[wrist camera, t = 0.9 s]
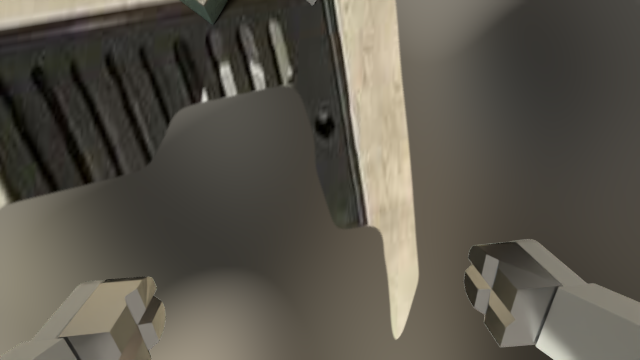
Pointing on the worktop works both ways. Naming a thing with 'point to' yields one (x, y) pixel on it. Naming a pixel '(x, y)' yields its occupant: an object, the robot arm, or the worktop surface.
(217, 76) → the worktop surface
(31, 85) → the worktop surface
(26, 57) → the worktop surface
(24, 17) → the worktop surface
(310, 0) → the mat
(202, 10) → the tea tin
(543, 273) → the robot arm
